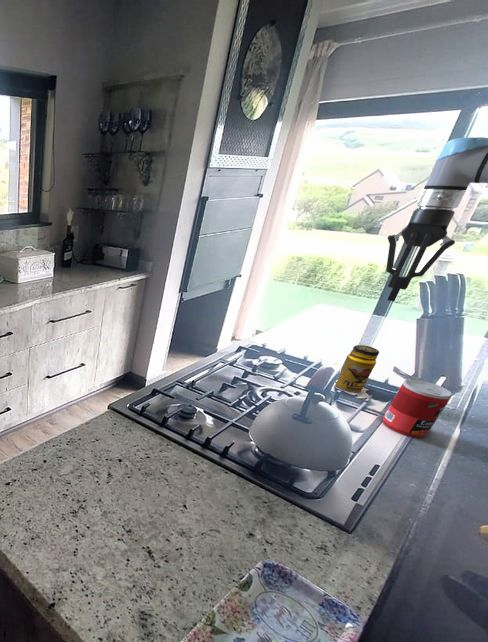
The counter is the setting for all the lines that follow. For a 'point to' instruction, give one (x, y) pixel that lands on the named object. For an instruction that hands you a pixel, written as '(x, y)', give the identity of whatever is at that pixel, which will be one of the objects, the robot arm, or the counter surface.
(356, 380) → the condiment
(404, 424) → the canned food
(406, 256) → the robot arm
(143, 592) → the counter surface
